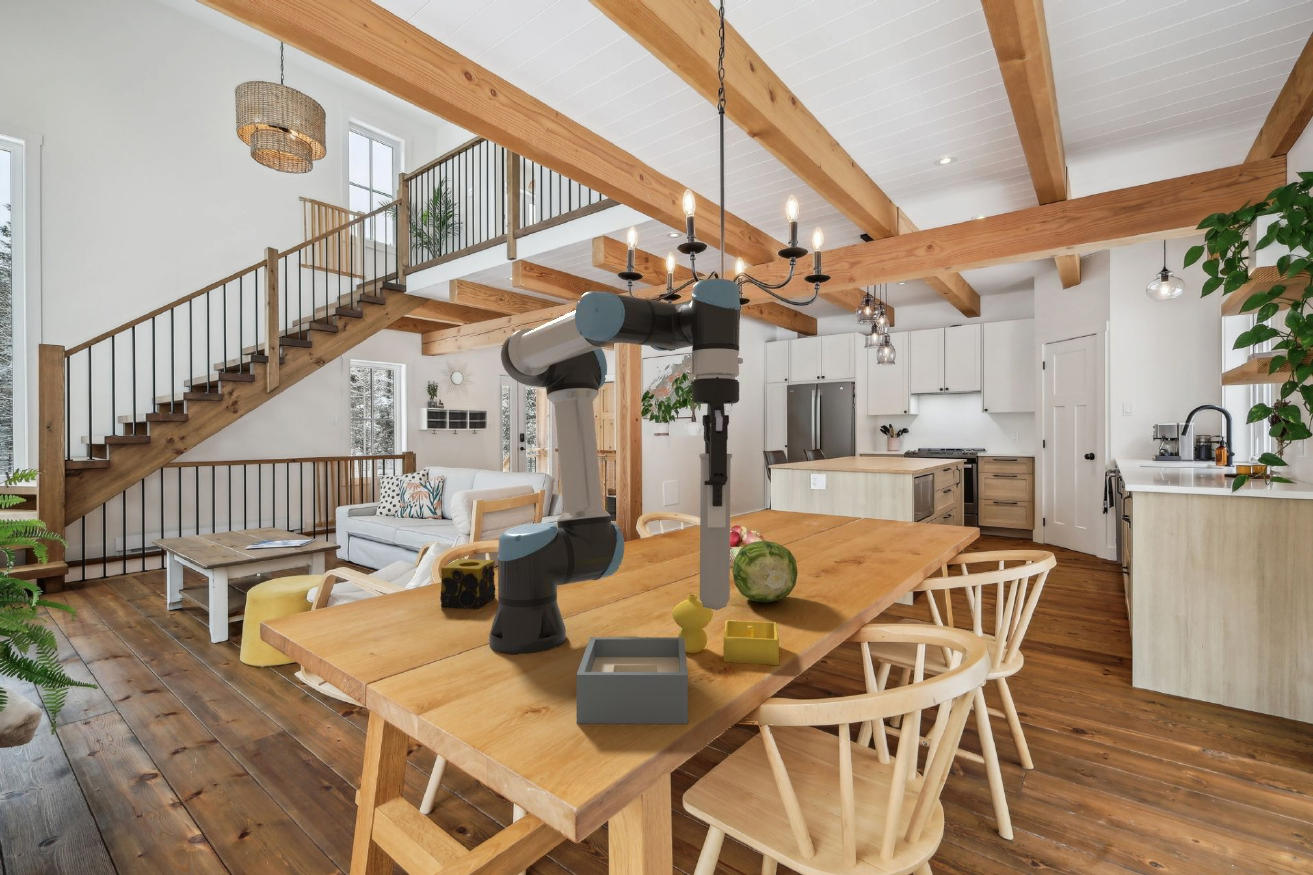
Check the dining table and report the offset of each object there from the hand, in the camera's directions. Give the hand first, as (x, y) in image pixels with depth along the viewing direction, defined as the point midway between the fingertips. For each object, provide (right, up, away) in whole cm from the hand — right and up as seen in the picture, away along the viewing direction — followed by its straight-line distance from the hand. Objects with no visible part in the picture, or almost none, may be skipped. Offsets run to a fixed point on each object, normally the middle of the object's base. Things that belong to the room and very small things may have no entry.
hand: (715, 523), depth 96 cm
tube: (0, -14, 0) cm, 14 cm away
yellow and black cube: (-56, -28, +53) cm, 82 cm away
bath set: (+4, -27, +19) cm, 33 cm away
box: (-13, -27, -2) cm, 30 cm away
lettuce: (+17, -27, +50) cm, 60 cm away
